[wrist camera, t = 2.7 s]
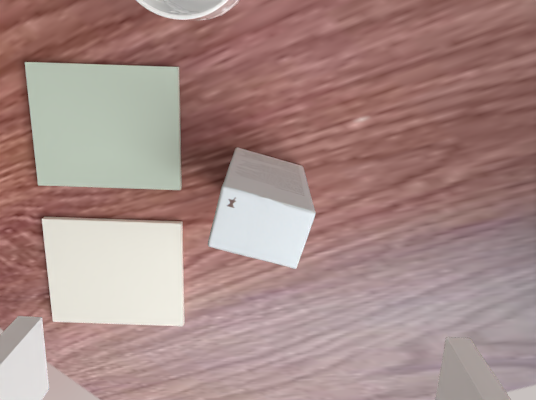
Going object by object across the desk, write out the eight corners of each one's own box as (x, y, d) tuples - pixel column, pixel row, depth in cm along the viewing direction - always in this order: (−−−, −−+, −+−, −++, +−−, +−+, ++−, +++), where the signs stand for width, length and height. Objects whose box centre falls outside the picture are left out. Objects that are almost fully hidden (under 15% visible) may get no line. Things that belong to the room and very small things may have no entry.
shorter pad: (179, 66, 39) (177, 67, 39) (181, 188, 42) (180, 190, 41) (28, 61, 39) (24, 62, 39) (41, 183, 42) (38, 185, 42)
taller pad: (182, 221, 43) (181, 223, 42) (184, 322, 46) (183, 326, 45) (44, 216, 43) (41, 218, 42) (55, 318, 46) (52, 321, 45)
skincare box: (223, 193, 42) (203, 246, 31) (235, 145, 41) (220, 183, 30) (291, 212, 43) (296, 272, 31) (305, 165, 41) (317, 210, 30)
